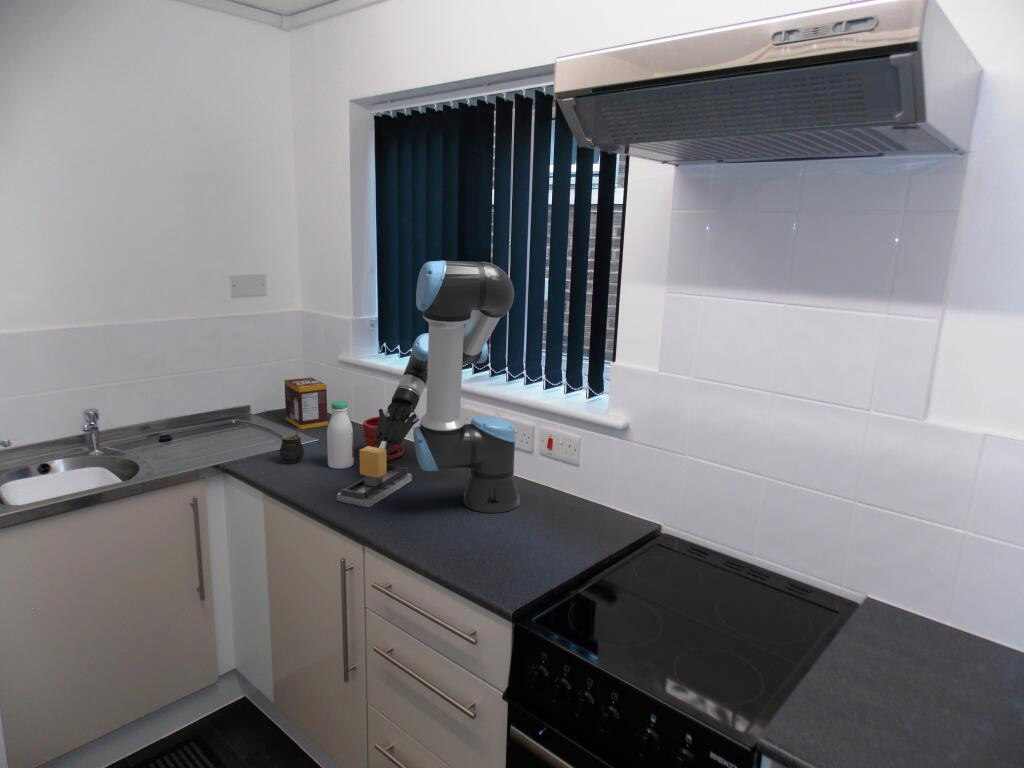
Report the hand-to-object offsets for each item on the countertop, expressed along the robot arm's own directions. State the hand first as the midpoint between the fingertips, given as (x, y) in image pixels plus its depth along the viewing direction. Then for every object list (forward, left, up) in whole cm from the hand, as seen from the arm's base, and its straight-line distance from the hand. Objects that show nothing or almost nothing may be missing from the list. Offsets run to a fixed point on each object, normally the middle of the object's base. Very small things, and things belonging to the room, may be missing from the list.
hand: (377, 463), depth 187 cm
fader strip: (-1, +2, -7) cm, 7 cm away
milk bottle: (+23, -3, -7) cm, 24 cm away
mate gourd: (+36, +6, -7) cm, 37 cm away
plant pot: (+21, -18, -7) cm, 28 cm away
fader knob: (-2, +3, -5) cm, 6 cm away
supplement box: (+71, -20, -7) cm, 74 cm away
